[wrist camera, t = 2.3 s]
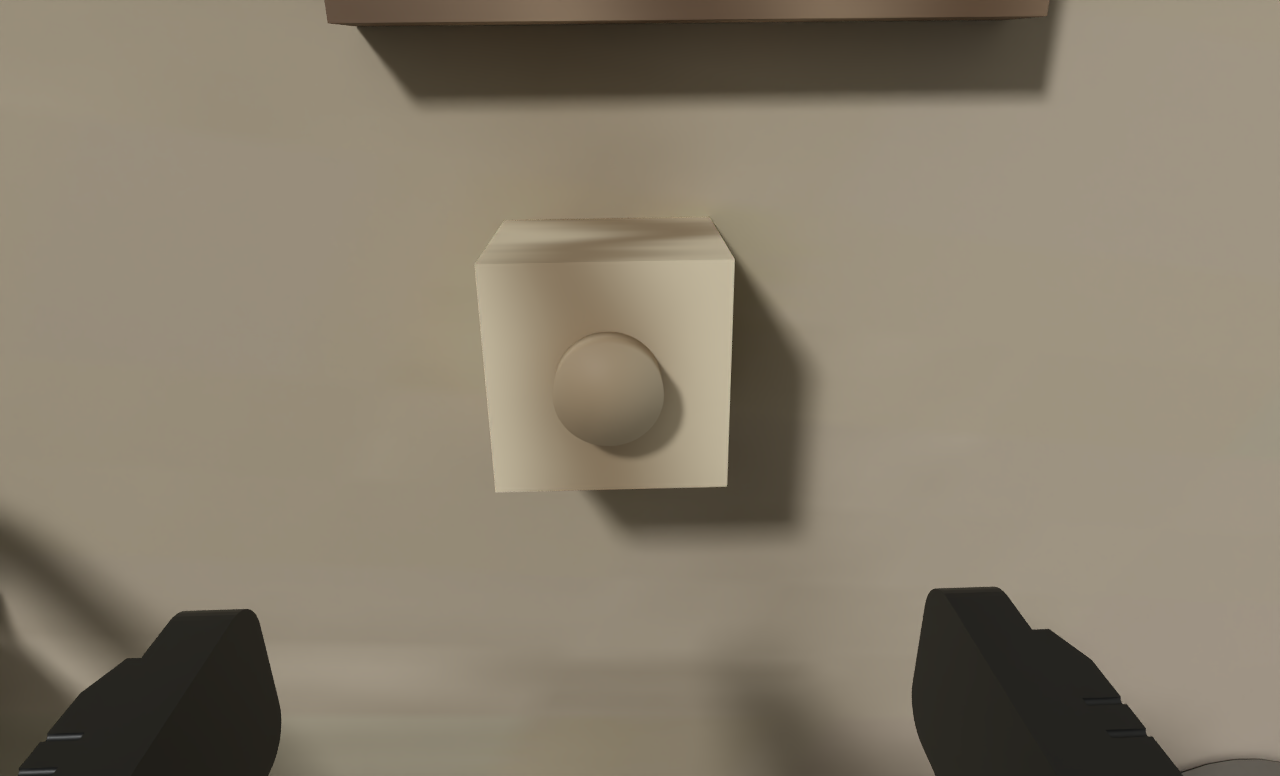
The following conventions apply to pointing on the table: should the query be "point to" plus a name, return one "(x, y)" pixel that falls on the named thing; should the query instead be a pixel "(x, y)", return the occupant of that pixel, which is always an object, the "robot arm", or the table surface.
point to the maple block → (607, 353)
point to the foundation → (667, 11)
